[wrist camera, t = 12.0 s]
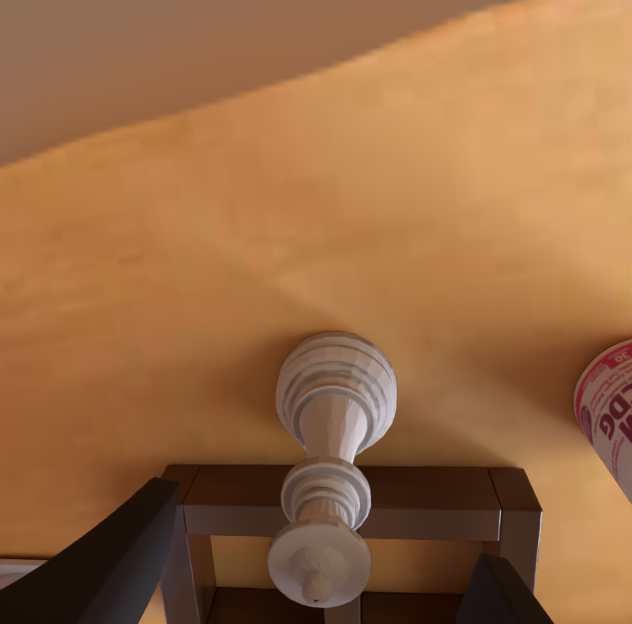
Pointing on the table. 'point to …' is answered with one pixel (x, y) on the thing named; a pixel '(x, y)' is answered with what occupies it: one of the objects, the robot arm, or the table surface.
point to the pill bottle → (609, 410)
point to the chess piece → (329, 465)
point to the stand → (381, 523)
